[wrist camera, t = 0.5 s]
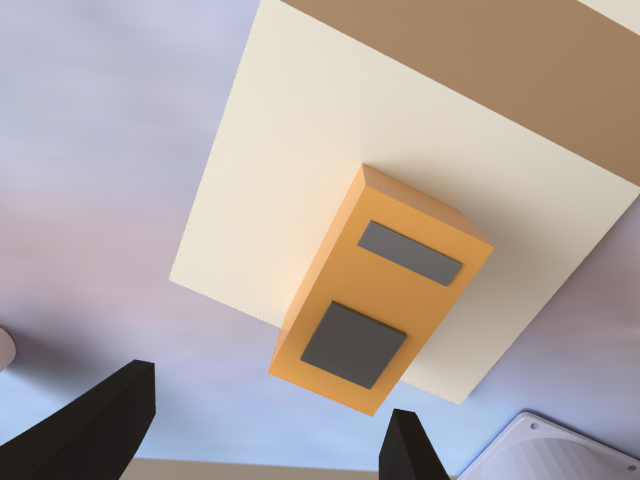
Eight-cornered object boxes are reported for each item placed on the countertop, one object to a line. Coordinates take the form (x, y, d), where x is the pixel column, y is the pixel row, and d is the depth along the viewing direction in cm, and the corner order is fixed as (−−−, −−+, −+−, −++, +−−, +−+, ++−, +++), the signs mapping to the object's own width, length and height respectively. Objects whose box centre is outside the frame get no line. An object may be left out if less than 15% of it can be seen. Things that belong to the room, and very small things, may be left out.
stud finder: (458, 210, 16) (498, 250, 12) (367, 349, 20) (372, 421, 15) (361, 163, 16) (366, 187, 12) (285, 313, 19) (266, 376, 15)
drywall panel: (800, -26, 13) (834, -36, 12) (454, 392, 22) (459, 405, 21) (366, -291, 12) (367, -324, 11) (177, 271, 20) (168, 279, 19)
